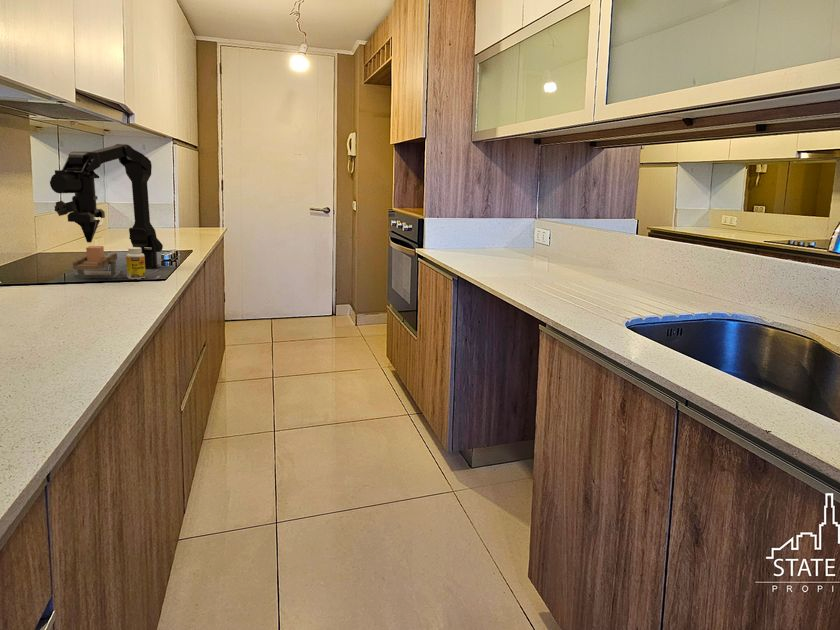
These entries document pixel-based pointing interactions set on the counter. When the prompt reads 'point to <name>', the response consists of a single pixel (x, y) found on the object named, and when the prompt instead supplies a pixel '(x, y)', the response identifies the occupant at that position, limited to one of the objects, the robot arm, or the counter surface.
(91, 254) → the rider block
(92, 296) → the counter surface
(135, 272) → the supplement bottle
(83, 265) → the brown tray
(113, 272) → the pivot stand
